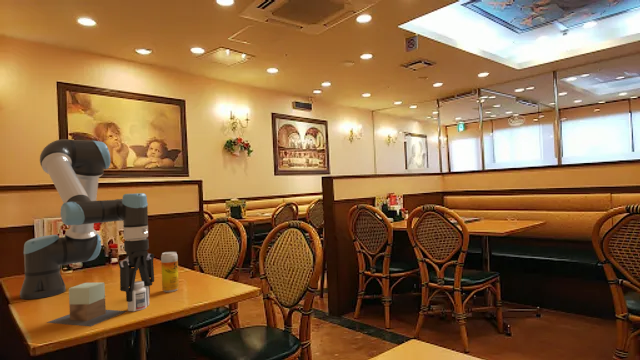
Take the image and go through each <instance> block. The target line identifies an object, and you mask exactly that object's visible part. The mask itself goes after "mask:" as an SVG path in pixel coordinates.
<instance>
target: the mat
mask: <svg viewBox="0 0 640 360" xmlns="http://www.w3.org/2000/svg"><path fill="white" fill-rule="evenodd" d="M127 312H128V310H118V309H117V310H114V309H106V314H104V315H101V316H99V317H96V318H93V319H91V320H88V321H80V320H70V313H69V314H66V315H63V316H60V317H58V318H55V319H52V320H50V321H46V323H48V324H60V325H71V326H81V327H93V326H95V325H98V324H101V323H103V322H105V321H107V320H110V319H113V318H114V317H117V316H119V315H122V314H125V313H127Z"/></svg>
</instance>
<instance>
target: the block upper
mask: <svg viewBox="0 0 640 360" xmlns="http://www.w3.org/2000/svg"><path fill="white" fill-rule="evenodd" d="M105 284H106V283H105V282H83V283H80V284H77V285H75V286H71V287H69V288H68V303H69V304H91V303H94V302H96V301H99V300H101V299H103V298H105V299H106V290H105V288H106V287H105Z"/></svg>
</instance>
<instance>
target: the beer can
mask: <svg viewBox="0 0 640 360" xmlns="http://www.w3.org/2000/svg"><path fill="white" fill-rule="evenodd" d="M178 259H179V258H178V254H177V251H165V252H162V253H161V256H160V263H161V286H162V287H161V288H162V291H163V292H164V293H174V292H176V291H178V290H179V288H180V286H179V285H180V284H179V283H180V282H179V261H178Z"/></svg>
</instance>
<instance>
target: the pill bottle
mask: <svg viewBox="0 0 640 360" xmlns="http://www.w3.org/2000/svg"><path fill="white" fill-rule="evenodd" d="M143 286H144V281H142V280H137V281H136V280H135V283H134V289H133V291H135V292H136V311H137V312H138V311H142V310H146V308H147V307H148V306H147V299H146V288H144V287H143ZM136 311H135V312H136Z"/></svg>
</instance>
